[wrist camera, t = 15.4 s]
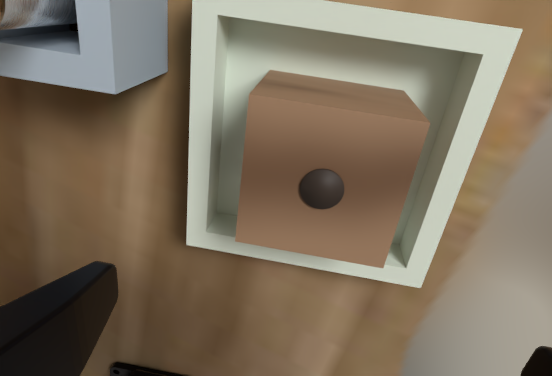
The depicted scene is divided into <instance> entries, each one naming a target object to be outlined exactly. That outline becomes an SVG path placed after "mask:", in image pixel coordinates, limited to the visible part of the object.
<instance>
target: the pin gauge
mask: <svg viewBox="0 0 552 376" xmlns="http://www.w3.org/2000/svg"><path fill="white" fill-rule="evenodd" d="M73 23H77V14H76V4H75V0H0V30H6V29H17V28H28V27H39V26H50V25H62V24H73Z"/></svg>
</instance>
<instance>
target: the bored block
mask: <svg viewBox="0 0 552 376" xmlns="http://www.w3.org/2000/svg"><path fill="white" fill-rule="evenodd" d="M75 4H76V14H77V24H78V32H77V31H70V26H69V24H62V25H50V26H39V27H28V28H17V29H6V30H0V76H6V77H12V78H18V79H24V80H30V81H37V82H43V83H49V84H55V85H61V86H67V87H73V88H79V89H85V90H92V91H98V92H104V93H110V94H118V93H120V92H122V91H125V90H127V89H129V88H131V87H134V86H136V85H138V84H141V83H143V82H145V81H148V80H150V79H152V78H154V77H157V76H159V75H161V74H164V73H166V72H168V0H75Z"/></svg>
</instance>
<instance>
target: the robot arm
mask: <svg viewBox="0 0 552 376" xmlns="http://www.w3.org/2000/svg"><path fill="white" fill-rule="evenodd" d="M117 298H118V282H117V270H116V267H115V265H113V264H111V263H106V262H100V261H95V262H93V263H90V264H88V265H86V266H84V267H82V268H80V269H78V270H76V271H74V272H72V273H70V274H68V275H65V276H63V277H61V278H59V279H57V280H55V281H53V282H51V283H49V284H47V285H45V286H43V287H41V288H38V289H36V290H34V291H32V292H30V293H28V294H26V295H24V296H22V297H20V298H18V299H16V300H14V301H11V302H9V303H7V304H5V305H3V306H1V307H0V376H80V374H81V372H82V370H83V369H84V367H85V365H86V363H87V361H88V359H89V357H90V355H91V353H92V351H93V349H94V347H95V345H96V343H97V341H98V339H99V337H100V335H101V333H102V331H103V329H104V327H105V325H106V323H107V321H108V319H109V316H110V314H111V312H112V310H113V308H114V306H115V304H116V302H117ZM110 376H180V375H175V374H171V373H166V372H161V371H156V370H151V369H146V368H141V367H136V366H132V365H127V364H122V363H114V364H113V365H112V367H111V368H110ZM521 376H552V348H551V347H546V346H540V347H538V348H537V349H536V350H535V351H534V353H533V354H532V356H531V357H530V359H529V361H528V362H527V363H526V365H525V367H524V368H523V370H522V372H521Z"/></svg>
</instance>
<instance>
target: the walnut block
mask: <svg viewBox="0 0 552 376" xmlns="http://www.w3.org/2000/svg"><path fill="white" fill-rule="evenodd" d="M429 127H430V122H429V120H428V119H427V118H426V117H425V116H424V114H423V113H422V112H421V111H420V109H419V108H418V107H417V106H416V105H415V103H414V102H413V101H412V100H411V99H410V97H409V96H408V95H407V94H406V92H405V91H404V90H397V89H391V88H385V87H378V86H372V85H365V84H359V83H353V82H346V81H340V80H333V79H327V78H320V77H314V76H308V75H301V74H295V73H288V72H282V71H275V70H269V72H268V73H267V74H266V75H265V76H264V77H263V79H262V80H261V81H260V82H259V83H258V84H257V85H256V87H255V88H254V89H253V90H252V91H251V92H250V93H249V100H248V111H247V121H246V131H245V142H244V152H243V163H242V173H241V184H240V194H239V205H238V215H237V226H236V236H235V242H241V243H246V244H252V245H257V246H263V247H268V248H274V249H279V250H285V251H290V252H295V253H301V254H306V255H312V256H317V257H323V258H328V259H334V260H339V261H345V262H350V263H356V264H361V265H367V266H372V267H378V268H384V265H385V262H386V259H387V256H388V252H389V249H390V246H391V243H392V240H393V237H394V234H395V231H396V228H397V225H398V222H399V219H400V216H401V213H402V209H403V206H404V203H405V200H406V197H407V194H408V191H409V188H410V185H411V182H412V179H413V176H414V173H415V170H416V166H417V163H418V160H419V157H420V154H421V151H422V148H423V145H424V142H425V139H426V136H427V133H428V130H429Z"/></svg>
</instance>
